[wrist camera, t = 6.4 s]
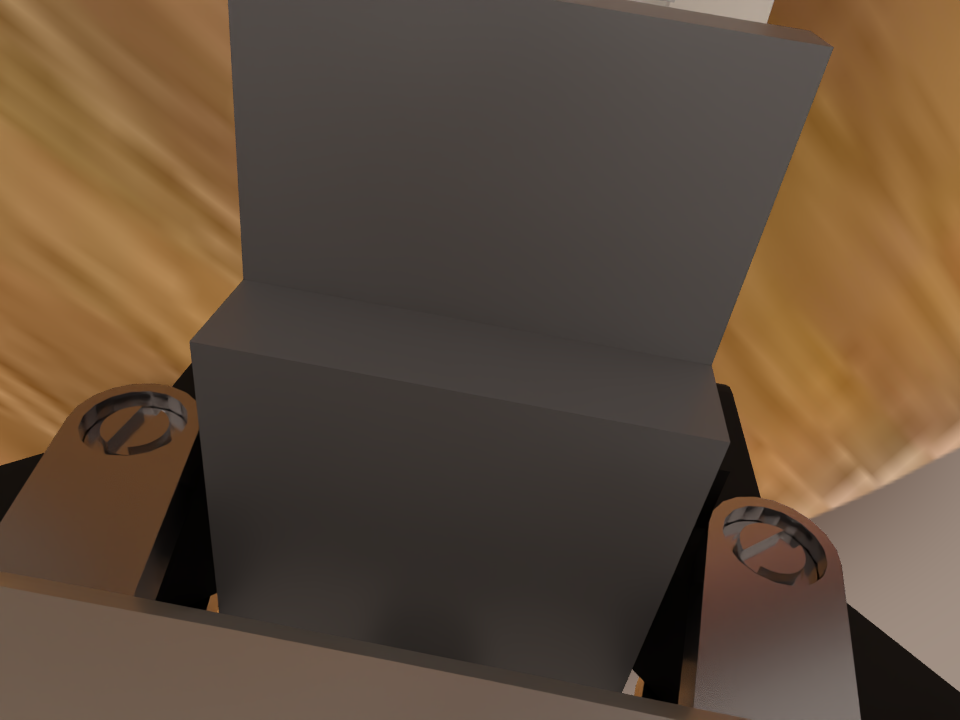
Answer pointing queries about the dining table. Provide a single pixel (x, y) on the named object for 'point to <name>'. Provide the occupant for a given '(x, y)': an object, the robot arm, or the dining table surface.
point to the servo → (484, 314)
